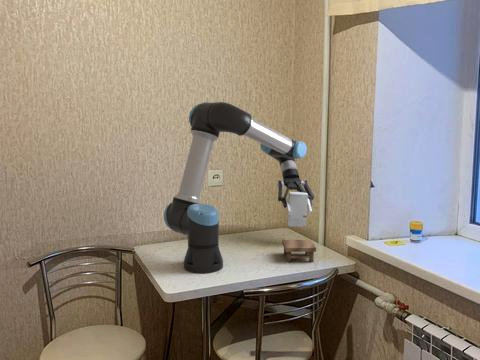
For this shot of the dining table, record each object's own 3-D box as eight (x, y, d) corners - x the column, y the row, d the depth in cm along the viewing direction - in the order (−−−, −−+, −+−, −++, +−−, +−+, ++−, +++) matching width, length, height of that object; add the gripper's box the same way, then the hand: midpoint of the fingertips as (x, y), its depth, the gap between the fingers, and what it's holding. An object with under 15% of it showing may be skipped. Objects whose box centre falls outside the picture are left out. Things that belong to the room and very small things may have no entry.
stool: (285, 262, 172) (285, 248, 171) (281, 253, 183) (282, 239, 183) (315, 262, 172) (316, 248, 171) (310, 253, 184) (310, 239, 183)
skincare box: (287, 226, 191) (288, 193, 189) (287, 223, 197) (288, 191, 195) (307, 227, 191) (308, 193, 189) (305, 224, 197) (306, 191, 195)
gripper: (309, 177, 209) (320, 216, 195) (265, 177, 204) (273, 218, 191) (314, 167, 203) (325, 207, 189) (268, 167, 199) (277, 208, 185)
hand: (299, 212), depth 190 cm, fingers closed on skincare box, 9 cm apart
